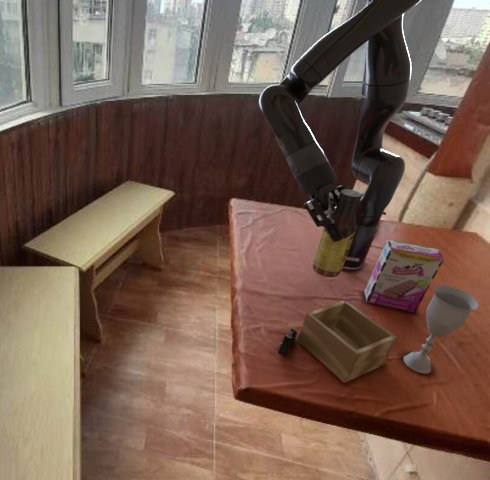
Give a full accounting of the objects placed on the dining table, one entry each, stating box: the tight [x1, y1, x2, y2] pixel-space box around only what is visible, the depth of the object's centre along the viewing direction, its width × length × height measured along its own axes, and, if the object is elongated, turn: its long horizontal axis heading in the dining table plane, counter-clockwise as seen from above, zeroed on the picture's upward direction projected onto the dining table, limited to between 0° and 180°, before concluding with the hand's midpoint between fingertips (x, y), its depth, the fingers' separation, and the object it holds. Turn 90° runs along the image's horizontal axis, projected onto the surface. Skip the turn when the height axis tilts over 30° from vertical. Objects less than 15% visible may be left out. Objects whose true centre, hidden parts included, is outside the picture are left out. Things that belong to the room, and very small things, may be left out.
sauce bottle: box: [312, 188, 362, 278], centre depth 92 cm, size 6×6×20 cm
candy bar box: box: [363, 239, 445, 314], centre depth 101 cm, size 11×5×16 cm, turn 71°
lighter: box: [277, 328, 299, 357], centre depth 89 cm, size 8×2×5 cm
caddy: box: [297, 300, 398, 384], centre depth 87 cm, size 12×13×8 cm
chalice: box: [403, 284, 479, 375], centre depth 83 cm, size 7×7×18 cm
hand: (346, 235), depth 90 cm, fingers closed on sauce bottle, 6 cm apart
